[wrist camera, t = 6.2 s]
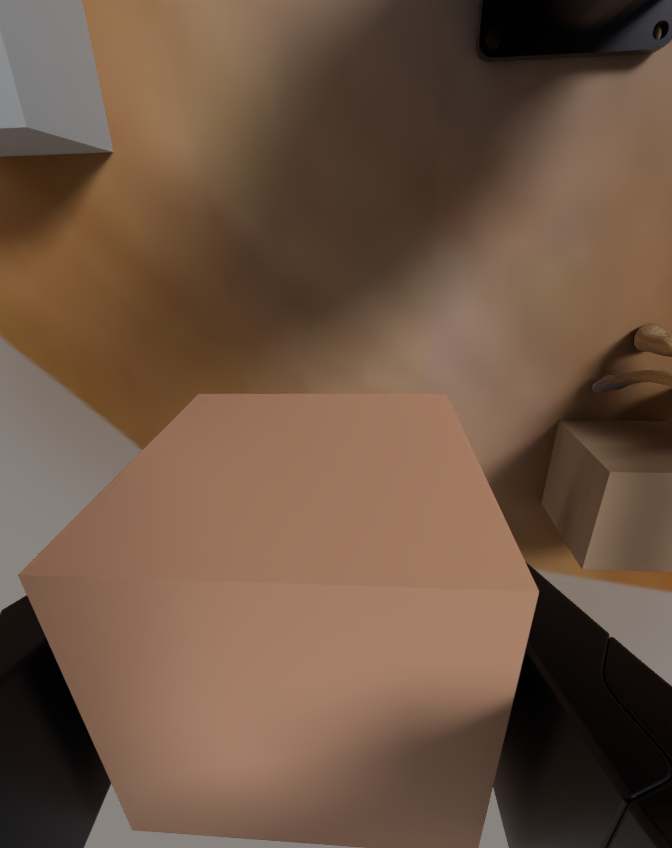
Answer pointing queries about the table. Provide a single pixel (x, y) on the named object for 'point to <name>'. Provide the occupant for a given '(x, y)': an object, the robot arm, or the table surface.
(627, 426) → the walnut block
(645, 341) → the lion figurine
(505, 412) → the table surface
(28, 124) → the slate grey block
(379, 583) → the terracotta block
